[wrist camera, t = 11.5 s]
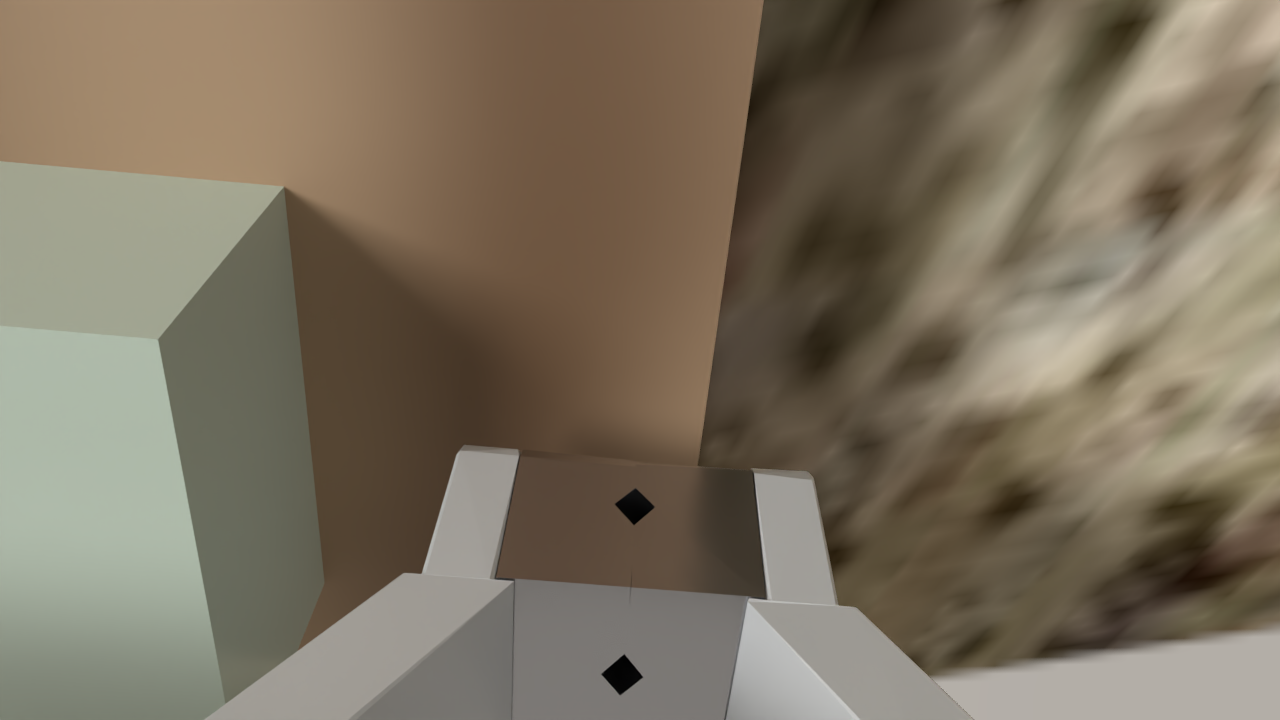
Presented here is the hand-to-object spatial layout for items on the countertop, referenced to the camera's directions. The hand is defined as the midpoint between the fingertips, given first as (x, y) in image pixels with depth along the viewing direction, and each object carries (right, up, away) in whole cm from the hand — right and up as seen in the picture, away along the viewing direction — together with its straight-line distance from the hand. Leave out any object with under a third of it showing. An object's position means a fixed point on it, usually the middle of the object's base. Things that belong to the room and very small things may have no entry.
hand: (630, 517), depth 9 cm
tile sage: (-5, +1, +1) cm, 5 cm away
